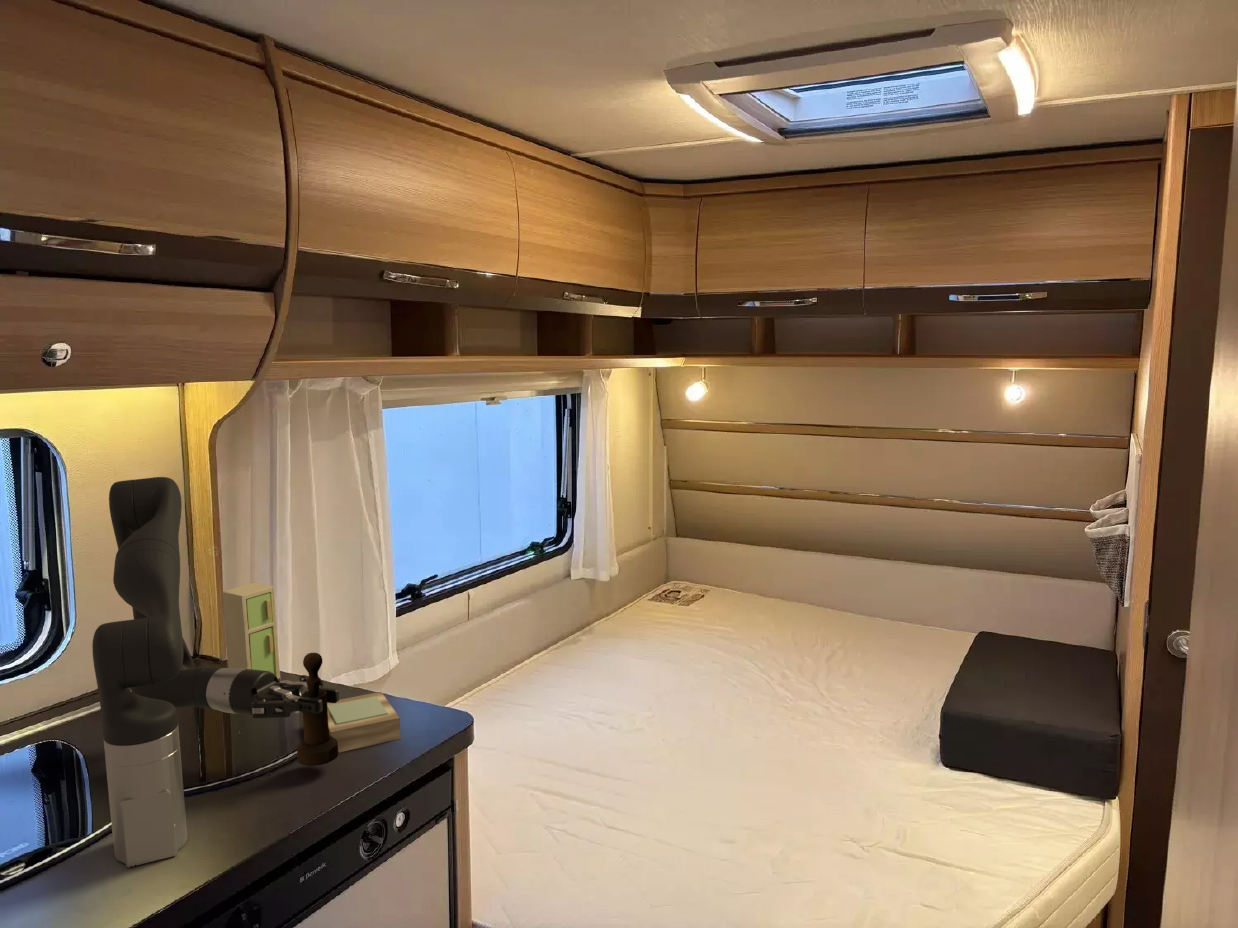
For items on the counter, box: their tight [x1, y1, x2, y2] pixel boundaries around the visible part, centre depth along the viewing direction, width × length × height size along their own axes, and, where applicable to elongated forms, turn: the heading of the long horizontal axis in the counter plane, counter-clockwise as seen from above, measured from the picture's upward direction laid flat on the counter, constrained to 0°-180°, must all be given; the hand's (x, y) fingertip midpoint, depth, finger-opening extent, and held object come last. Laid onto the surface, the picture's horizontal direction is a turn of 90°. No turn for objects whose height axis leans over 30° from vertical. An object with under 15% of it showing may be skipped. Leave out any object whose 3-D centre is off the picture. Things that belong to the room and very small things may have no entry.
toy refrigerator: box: [221, 582, 281, 679], centre depth 184 cm, size 8×7×21 cm
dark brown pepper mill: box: [296, 652, 339, 767], centre depth 146 cm, size 7×6×18 cm
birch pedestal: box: [327, 691, 402, 754], centre depth 162 cm, size 14×12×4 cm
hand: (329, 701), depth 145 cm, fingers closed on dark brown pepper mill, 4 cm apart
